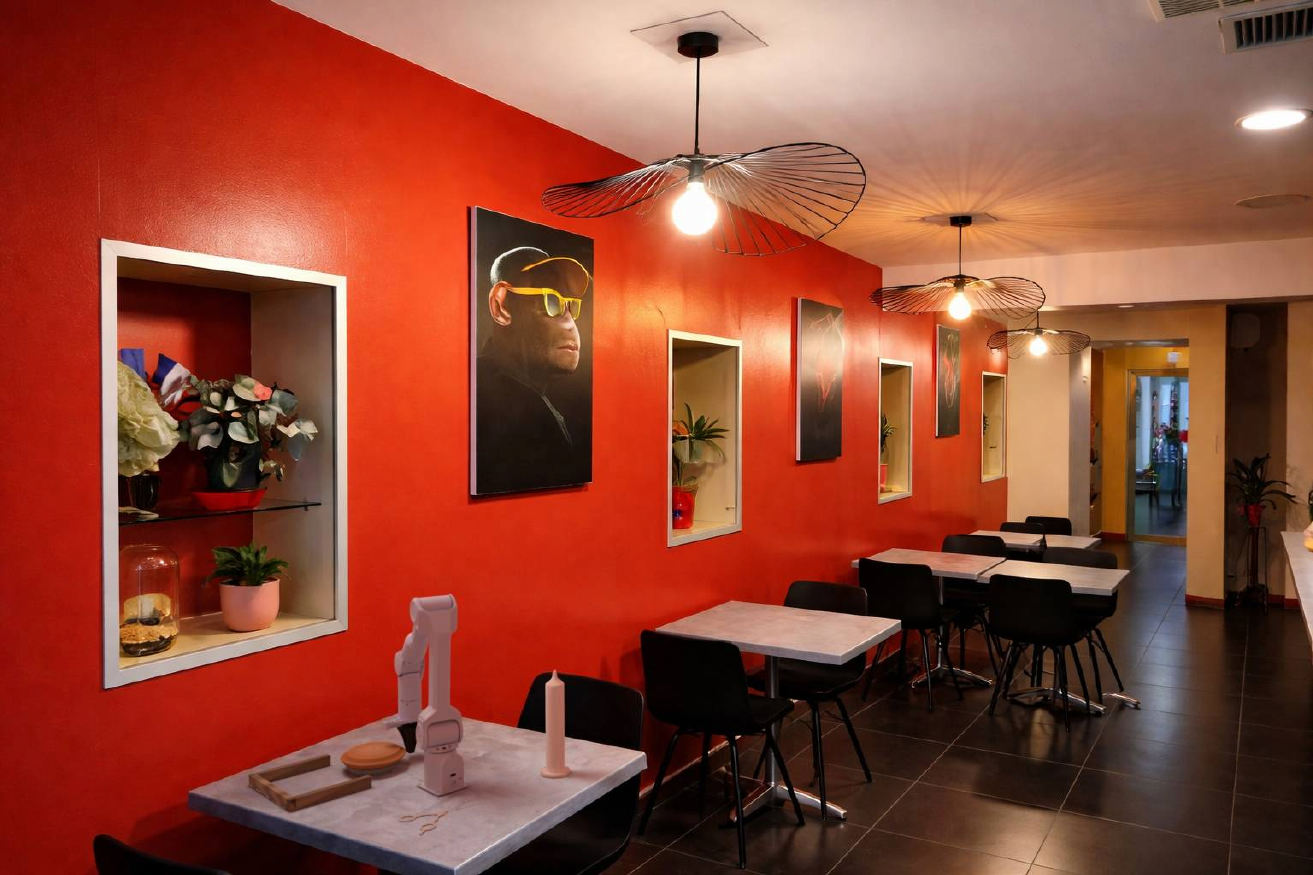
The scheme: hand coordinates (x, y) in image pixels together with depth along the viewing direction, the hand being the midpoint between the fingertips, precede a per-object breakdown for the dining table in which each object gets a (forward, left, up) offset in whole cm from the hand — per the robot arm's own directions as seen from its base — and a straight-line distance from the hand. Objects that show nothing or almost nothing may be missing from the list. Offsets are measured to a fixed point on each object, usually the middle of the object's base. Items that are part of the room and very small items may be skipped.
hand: (410, 751), depth 238 cm
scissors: (-36, +13, -2) cm, 38 cm away
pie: (0, +10, -2) cm, 10 cm away
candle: (-35, -19, -2) cm, 40 cm away
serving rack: (0, +26, -1) cm, 26 cm away
